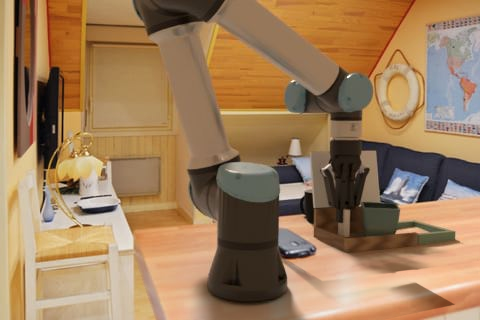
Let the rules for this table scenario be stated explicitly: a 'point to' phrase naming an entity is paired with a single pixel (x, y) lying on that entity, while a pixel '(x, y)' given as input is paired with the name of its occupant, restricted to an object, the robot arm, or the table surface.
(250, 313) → the table surface
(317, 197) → the lid
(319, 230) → the brown wooden box
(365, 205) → the flower pot
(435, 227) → the potting tray
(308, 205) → the mug
